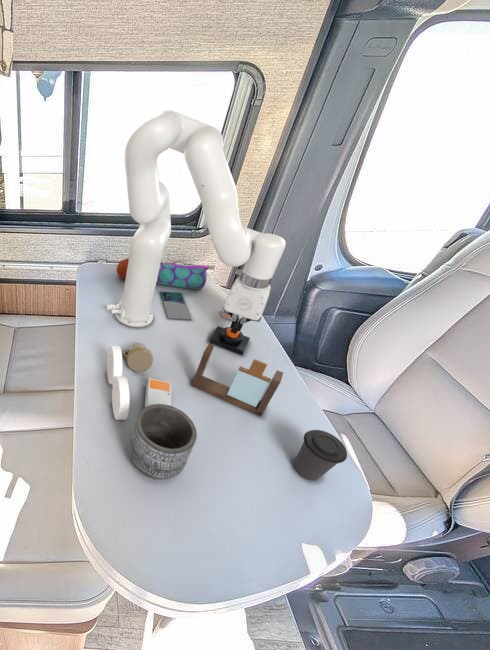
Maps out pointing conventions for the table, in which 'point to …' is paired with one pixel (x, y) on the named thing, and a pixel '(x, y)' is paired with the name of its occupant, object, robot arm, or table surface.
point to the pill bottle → (226, 315)
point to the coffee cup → (318, 454)
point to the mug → (139, 357)
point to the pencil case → (182, 275)
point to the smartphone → (175, 305)
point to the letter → (118, 384)
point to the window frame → (222, 390)
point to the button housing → (229, 341)
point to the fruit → (122, 268)
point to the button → (232, 333)
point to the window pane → (250, 383)
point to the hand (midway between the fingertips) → (234, 330)
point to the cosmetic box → (158, 392)
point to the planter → (162, 441)
